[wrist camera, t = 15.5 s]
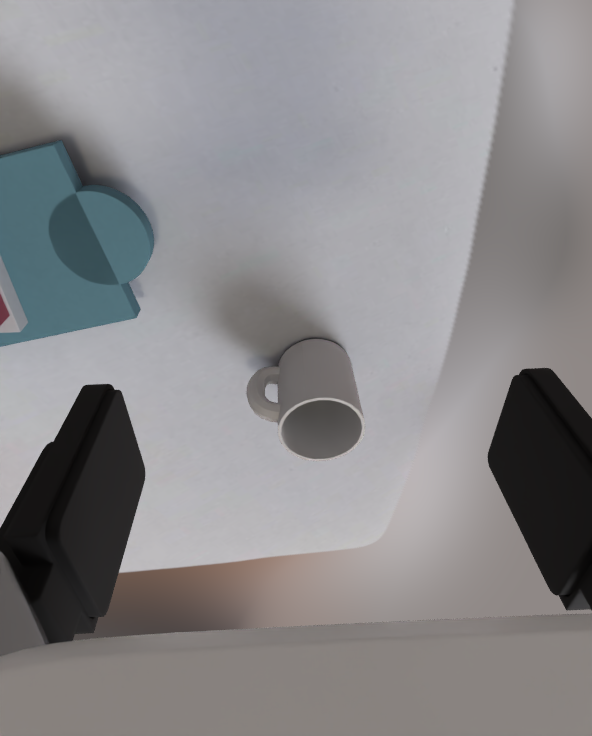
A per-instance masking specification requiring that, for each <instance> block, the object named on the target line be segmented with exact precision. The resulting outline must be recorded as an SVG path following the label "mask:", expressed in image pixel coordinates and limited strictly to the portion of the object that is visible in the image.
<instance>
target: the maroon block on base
mask: <svg viewBox="0 0 592 736" xmlns="http://www.w3.org/2000/svg"><path fill="white" fill-rule="evenodd" d="M27 323H28V321H27V318H26V316H25V313H24V311H23V308H22V306H21V304H20V301H19V299H18V296H17V294H16V292H15V289H14V287H13V284H12V282H11V280H10V277H9V275H8V272H7V270H6V267H5V265H4V263H3V260H2V258H1V255H0V333H9V332H21V331H22V329H23V328H24V327H25V326H26V325H27Z"/></svg>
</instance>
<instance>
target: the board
mask: <svg viewBox="0 0 592 736" xmlns="http://www.w3.org/2000/svg"><path fill="white" fill-rule="evenodd" d="M153 248H154V235H153V230H152V227H151V224H150V222H149V220H148V218H147V216H146V215H145V213H144V211H143V210H142V209H141V208H140V206H139V205H138V204H137V203H136V202H135V201H133V200H132V199H131V198H130V197H128V196H127V195H125V194H124V193H122V192H120V191H118V190H116V189H113V188H110V187H106V186H101V185H87V186H83V185H82V183H81V181H80V179H79V177H78V174H77V172H76V170H75V168H74V166H73V164H72V162H71V159H70V157H69V155H68V153H67V151H66V149H65V147H64V145H63V142H62V141H61V140H59V141H55V142H51V143H47V144H43V145H39V146H35V147H31V148H27V149H24V150H20V151H16V152H12V153H8V154H4V155H0V255H1V258H2V260H3V263H4V265H5V267H6V270H7V272H8V275H9V277H10V280H11V282H12V284H13V287H14V289H15V292H16V294H17V296H18V299H19V301H20V304H21V306H22V308H23V311H24V313H25V316H26V318H27V321H28V323H27V325H26V326H25V327H24V328H23V329H22V331H21V332H9V333H0V347H1V346H6V345H10V344H15V343H20V342H25V341H29V340H34V339H39V338H44V337H48V336H53V335H58V334H63V333H67V332H72V331H77V330H82V329H86V328H91V327H96V326H101V325H105V324H110V323H115V322H120V321H124V320H129V319H134V318H137V316H138V314H139V311H140V307H139V304H138V302H137V300H136V298H135V296H134V294H133V292H132V290H131V287H130V285H129V283H128V282H129V281H132V280H133V279H135V278H136V277H137V276H138V275H140V274H141V272H142V271H143V270H144V268H145V267H146V265H147V263H148V261H149V259H150V257H151V255H152V252H153Z"/></svg>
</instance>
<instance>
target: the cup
mask: <svg viewBox="0 0 592 736" xmlns="http://www.w3.org/2000/svg"><path fill="white" fill-rule="evenodd" d="M268 384H277V385H278V403H274V402H271V401H269V400H268V399H267V398H266V397H265V387H266V385H268ZM247 398H248V402H249V404H250V407H251V408H252V410H253V411H254V413H255V414H256V415H258V416H259V417H261V418H262V419H265V420H268V421H271V422H278V436H279V439H280V442H281V444H282V445H283V446H284V447H285V449H286V450H287V451H289V452H290V453H291V454H293V455H294V456H297V457H299V458H302V459H306V460H311V461H326V460H332V459H336V458H339V457H341V456H344V455H346V454H347V453H349V452H350V451H352V450H353V449H354V448H355V447H356V446H357V445H358V444H359V443H360V442H361V440H362V438H363V436H364V432H365V422H364V417H363V413H362V409H361V404H360V400H359V395H358V391H357V387H356V382H355V378H354V374H353V369H352V365H351V361H350V358H349V357H348V355H347V353H346V351H345V350H343V349H342V348H341V347H340V346H339V345H337V344H335V343H333V342H331V341H328V340H323V339H309V340H304V341H301V342H299V343H297V344H295V345H293V346H292V347H290V348H289V349H288V350H287V351H286V352H285V353H284V354H283V356H282V357H281V359H280V362H279V365H278V367H264V368H262V369H260V370H258V371H257V372H256V373H255V374H254V375H253V376H252V377H251V379H250V380H249V383H248V385H247Z"/></svg>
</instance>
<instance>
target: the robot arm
mask: <svg viewBox="0 0 592 736" xmlns="http://www.w3.org/2000/svg"><path fill="white" fill-rule="evenodd" d="M488 463H489V467H490V469H491V471H492V473H493V475H494V477H495V479H496V481H497V483H498V485H499V487H500V489H501V492H502V493H503V496H504V498H505V500H506V502H507V504H508V506H509V508H510V510H511V512H512V514H513V516H514V518H515V520H516V522H517V524H518V526H519V528H520V530H521V532H522V534H523V536H524V538H525V540H526V542H527V544H528V547H529V549H530V551H531V553H532V555H533V557H534V559H535V561H536V563H537V565H538V567H539V569H540V571H541V573H542V575H543V577H544V579H545V581H546V583H547V585H548V587H549V589H550V591H551V592H552V593H553V594H555V595H559V597H560V599H561V601H562V603H563V605H564V606H565V608H566V610H584V609H591V610H592V418H591V417H590V416H589V415H588V413H587V412H586V411H585V410H584V409H583V407H582V406H581V405H580V404H579V402H578V401H577V400H576V399H575V397H574V396H573V395H572V394H571V392H570V391H569V390H568V389H567V388H566V386H565V385H564V384H563V383H562V382H561V380H560V379H559V378H558V377H557V375H556V374H555V373H554V372H553V371H552V370H551V369H549V368H538V369H536V368H535V369H524V370H522V371H521V372H520V374H519V375H516V376H514V377H513V379H512V382H511V385H510V388H509V391H508V394H507V397H506V400H505V403H504V406H503V409H502V412H501V415H500V418H499V421H498V424H497V427H496V431H495V433H494V437H493V440H492V443H491V446H490V449H489V452H488ZM144 481H145V467H144V463H143V460H142V457H141V453H140V450H139V447H138V444H137V440H136V437H135V434H134V431H133V427H132V424H131V421H130V418H129V414H128V411H127V408H126V405H125V401H124V398H123V395H122V393H121V391H120V390H114V388H113V386H112V385H110V384H98V385H85V386H83V388H82V389H81V391H80V393H79V395H78V397H77V399H76V401H75V402H74V404H73V406H72V408H71V410H70V412H69V414H68V416H67V417H66V419H65V421H64V423H63V425H62V427H61V429H60V431H59V433H58V434H57V436H56V438H55V440H54V442H50V443H49V444H47V445H46V447H45V448H44V449H43V451H42V453H41V455H40V456H39V458H38V460H37V462H36V464H35V466H34V467H33V469H32V471H31V473H30V475H29V477H28V478H27V480H26V482H25V484H24V486H23V488H22V489H21V491H20V493H19V495H18V497H17V499H16V500H15V502H14V504H13V506H12V508H11V510H10V511H9V513H8V515H7V517H6V519H5V521H4V522H3V524H2V526H1V528H0V736H592V614H563V615H534V616H512V617H511V616H510V617H488V618H463V619H442V620H441V619H440V620H418V621H397V622H376V623H355V624H335V625H316V626H315V625H314V626H294V627H274V628H255V629H237V630H219V631H200V632H180V633H165V634H150V635H136V636H121V637H107V638H94V639H85V640H77V641H73V637H74V634H82V633H94V630H95V627H96V623H97V620H98V617H103V616H104V615H105V614H106V612H107V610H108V608H109V604H110V600H111V597H112V594H113V590H114V587H115V583H116V579H117V576H118V573H119V569H120V566H121V562H122V559H123V555H124V552H125V548H126V544H127V541H128V537H129V534H130V530H131V527H132V523H133V520H134V516H135V513H136V509H137V506H138V502H139V499H140V495H141V492H142V488H143V485H144Z"/></svg>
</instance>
